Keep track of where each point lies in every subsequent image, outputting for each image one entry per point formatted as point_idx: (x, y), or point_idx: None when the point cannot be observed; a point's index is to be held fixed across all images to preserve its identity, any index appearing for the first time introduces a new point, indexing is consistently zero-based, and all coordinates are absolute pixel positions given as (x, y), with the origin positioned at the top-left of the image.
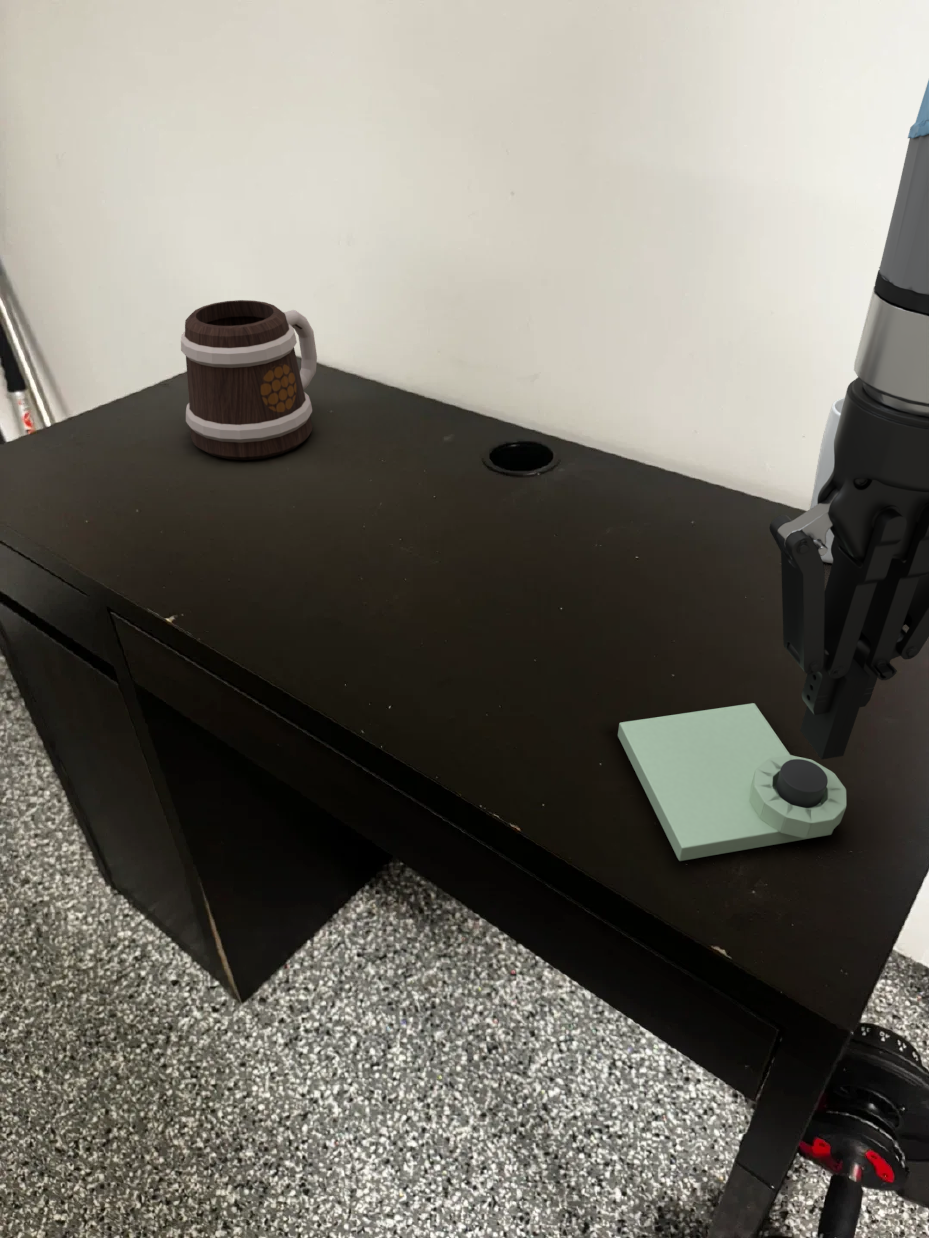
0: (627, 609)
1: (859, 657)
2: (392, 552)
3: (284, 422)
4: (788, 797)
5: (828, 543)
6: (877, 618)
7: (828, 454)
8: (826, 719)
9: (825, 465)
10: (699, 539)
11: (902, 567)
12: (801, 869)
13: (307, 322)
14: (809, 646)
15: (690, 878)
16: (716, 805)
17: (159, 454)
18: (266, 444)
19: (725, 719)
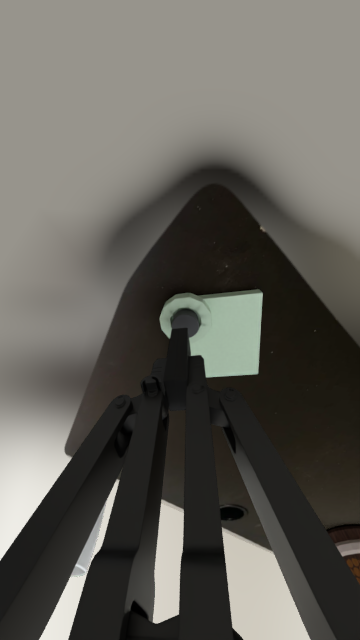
0: (215, 435)
1: (166, 401)
2: (315, 474)
3: (349, 550)
4: (196, 315)
5: None
6: (157, 450)
7: (96, 529)
8: (188, 351)
9: (99, 519)
10: (164, 466)
11: (134, 581)
12: (193, 278)
13: None
14: (250, 421)
15: (257, 277)
16: (230, 318)
17: None
18: (354, 536)
19: None
